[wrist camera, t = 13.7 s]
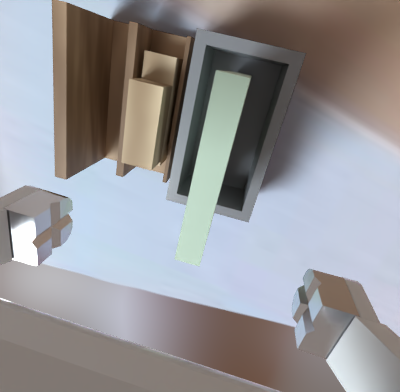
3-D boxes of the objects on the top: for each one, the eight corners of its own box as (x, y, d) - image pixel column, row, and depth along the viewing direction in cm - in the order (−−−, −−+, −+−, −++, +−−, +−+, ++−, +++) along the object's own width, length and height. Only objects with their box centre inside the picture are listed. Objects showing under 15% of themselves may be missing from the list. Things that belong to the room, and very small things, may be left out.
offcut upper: (172, 85, 27) (163, 87, 24) (160, 161, 30) (151, 170, 28) (141, 78, 27) (129, 78, 25) (132, 154, 31) (121, 162, 28)
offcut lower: (184, 59, 29) (176, 57, 26) (167, 158, 33) (159, 166, 31) (154, 52, 29) (144, 50, 26) (142, 151, 34) (132, 158, 31)
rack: (199, 41, 29) (176, 27, 21) (174, 171, 36) (149, 202, 27) (109, 20, 30) (51, -1, 21) (101, 152, 36) (55, 176, 28)
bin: (294, 57, 28) (306, 53, 22) (249, 195, 35) (248, 222, 29) (209, 38, 29) (196, 28, 22) (181, 177, 36) (166, 199, 29)
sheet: (251, 75, 29) (250, 78, 12) (225, 172, 33) (199, 266, 17) (236, 72, 29) (216, 70, 13) (212, 169, 33) (174, 259, 17)
